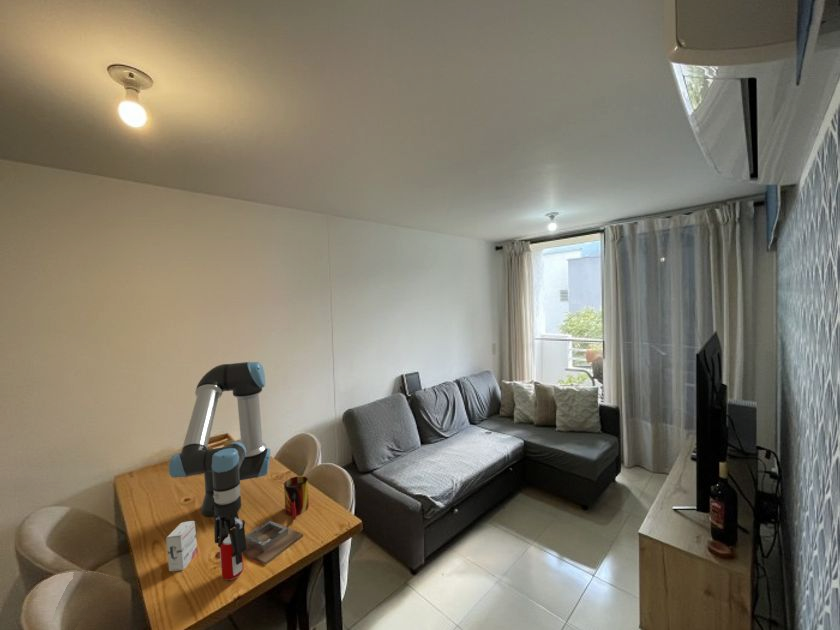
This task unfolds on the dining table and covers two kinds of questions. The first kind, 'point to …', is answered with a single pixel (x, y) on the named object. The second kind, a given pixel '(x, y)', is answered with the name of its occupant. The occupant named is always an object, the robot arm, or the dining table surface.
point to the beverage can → (228, 560)
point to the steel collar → (264, 546)
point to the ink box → (181, 546)
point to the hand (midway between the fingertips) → (231, 568)
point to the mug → (296, 496)
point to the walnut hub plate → (275, 549)
